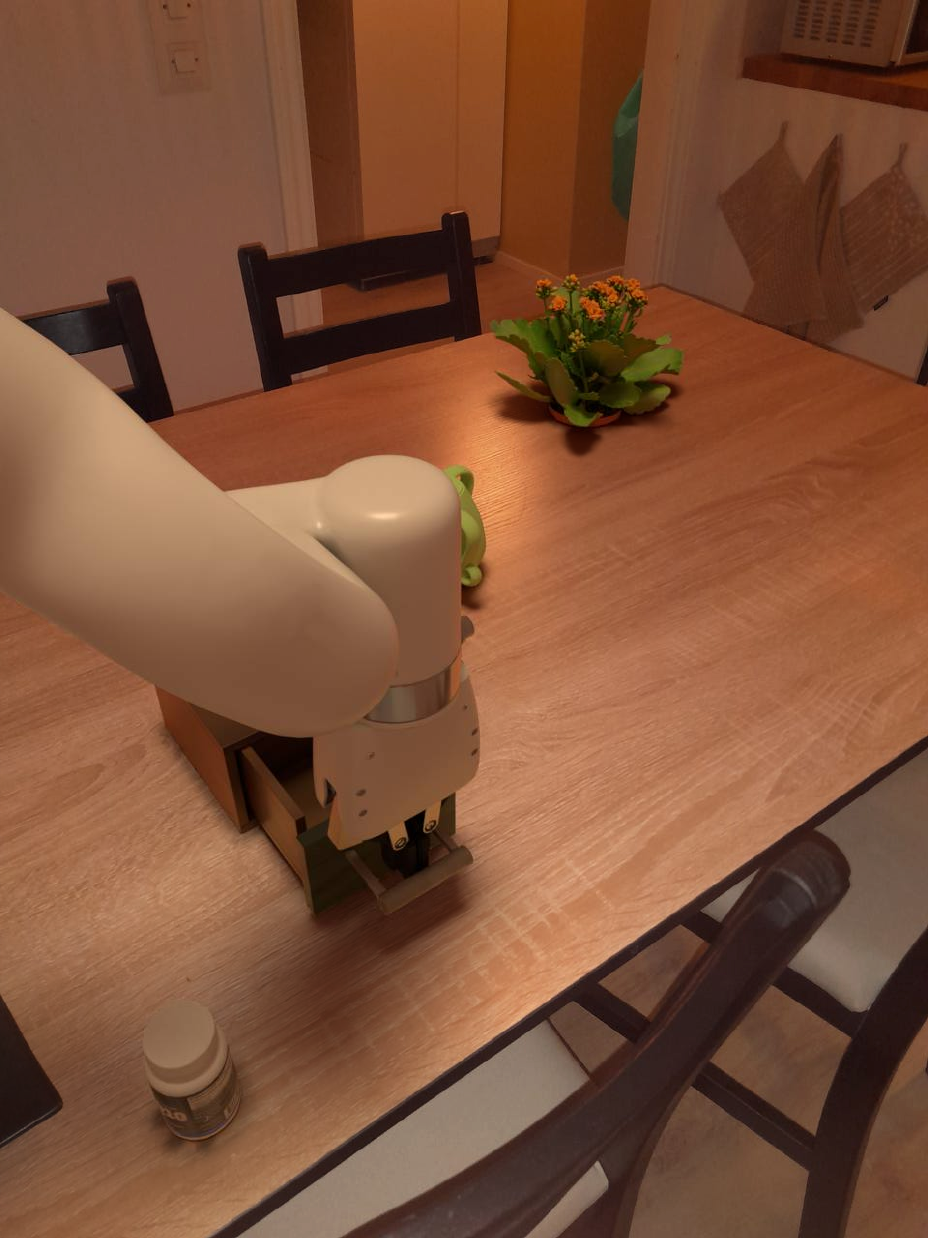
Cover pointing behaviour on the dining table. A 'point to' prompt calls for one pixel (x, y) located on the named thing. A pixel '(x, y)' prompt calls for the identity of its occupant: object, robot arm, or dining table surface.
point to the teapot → (468, 526)
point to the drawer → (300, 827)
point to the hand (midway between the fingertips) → (406, 864)
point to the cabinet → (212, 751)
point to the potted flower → (591, 352)
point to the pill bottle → (190, 1070)
